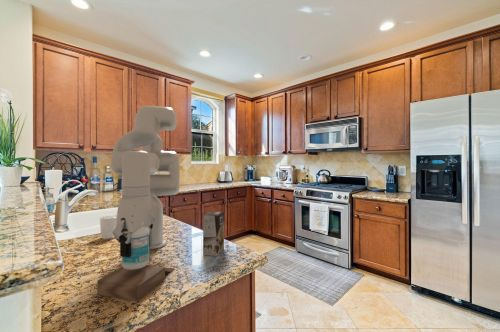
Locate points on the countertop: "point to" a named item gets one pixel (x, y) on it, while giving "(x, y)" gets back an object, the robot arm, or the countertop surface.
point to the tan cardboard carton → (132, 282)
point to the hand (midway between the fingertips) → (135, 251)
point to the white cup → (108, 226)
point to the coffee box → (213, 233)
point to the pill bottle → (138, 249)
